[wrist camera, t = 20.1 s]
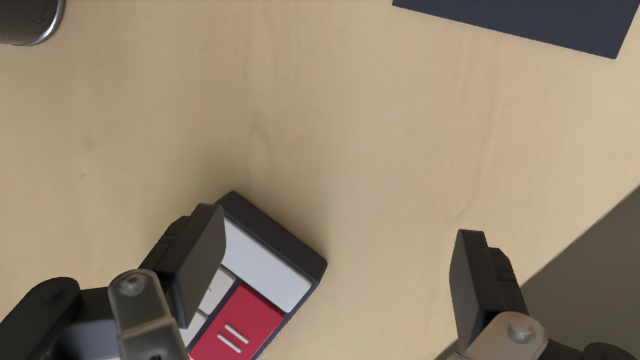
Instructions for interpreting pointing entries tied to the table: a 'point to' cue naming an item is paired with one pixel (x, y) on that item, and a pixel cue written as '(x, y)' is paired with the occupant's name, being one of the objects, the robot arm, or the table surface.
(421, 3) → the felt mat
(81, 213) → the table surface
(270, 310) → the calculator
